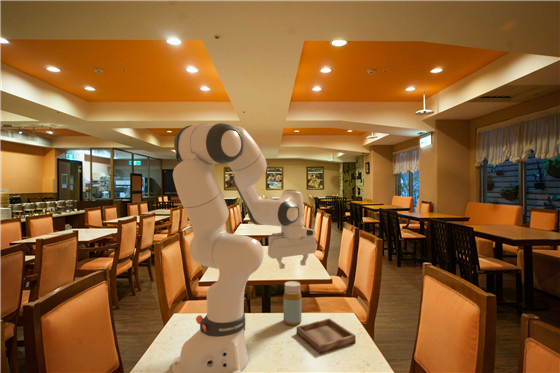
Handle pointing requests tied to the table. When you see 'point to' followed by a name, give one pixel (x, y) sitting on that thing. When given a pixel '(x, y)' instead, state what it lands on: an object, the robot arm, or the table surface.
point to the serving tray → (325, 335)
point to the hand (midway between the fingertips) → (292, 266)
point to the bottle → (292, 303)
